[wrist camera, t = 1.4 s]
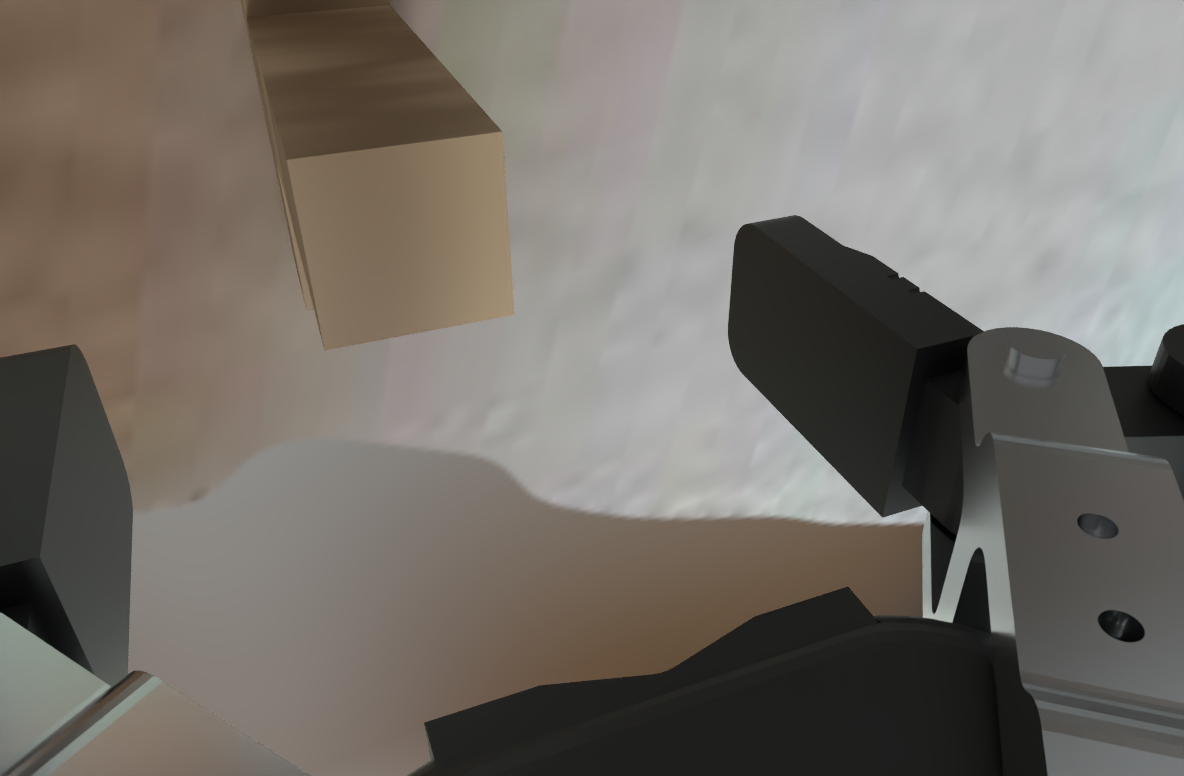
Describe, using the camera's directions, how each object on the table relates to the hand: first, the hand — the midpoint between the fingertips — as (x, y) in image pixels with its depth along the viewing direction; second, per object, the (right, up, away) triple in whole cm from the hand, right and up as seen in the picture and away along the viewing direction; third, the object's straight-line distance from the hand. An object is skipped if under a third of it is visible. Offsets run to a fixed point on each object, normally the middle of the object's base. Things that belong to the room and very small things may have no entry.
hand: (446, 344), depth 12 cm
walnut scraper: (-5, +8, +12) cm, 15 cm away
